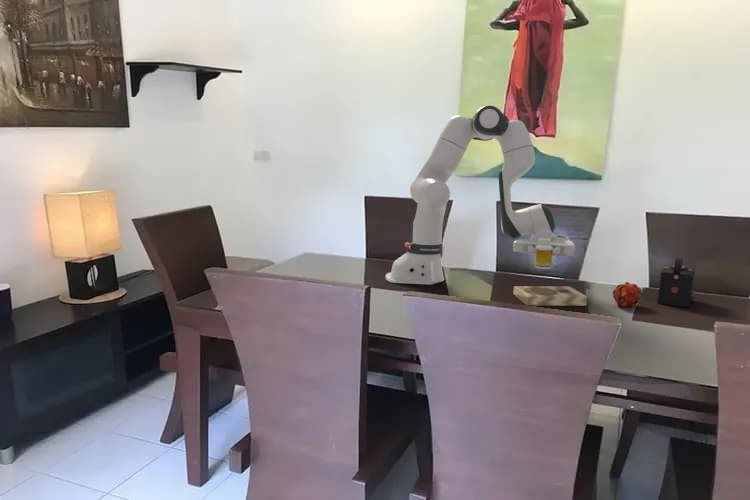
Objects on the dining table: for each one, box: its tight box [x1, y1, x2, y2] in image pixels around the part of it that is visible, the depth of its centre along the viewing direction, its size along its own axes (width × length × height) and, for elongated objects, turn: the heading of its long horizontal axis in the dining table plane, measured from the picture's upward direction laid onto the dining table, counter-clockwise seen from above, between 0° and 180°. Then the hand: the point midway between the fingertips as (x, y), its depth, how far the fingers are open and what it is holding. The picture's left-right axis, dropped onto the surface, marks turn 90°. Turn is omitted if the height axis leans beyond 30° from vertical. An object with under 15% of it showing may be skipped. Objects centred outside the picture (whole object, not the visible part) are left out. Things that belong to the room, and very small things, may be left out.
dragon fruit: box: [612, 281, 643, 308], centre depth 185 cm, size 8×8×12 cm
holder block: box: [512, 285, 588, 307], centre depth 191 cm, size 20×14×3 cm
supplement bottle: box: [533, 238, 553, 270], centre depth 189 cm, size 5×5×10 cm
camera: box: [657, 257, 696, 308], centre depth 192 cm, size 11×14×15 cm
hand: (544, 251), depth 188 cm, fingers closed on supplement bottle, 5 cm apart
